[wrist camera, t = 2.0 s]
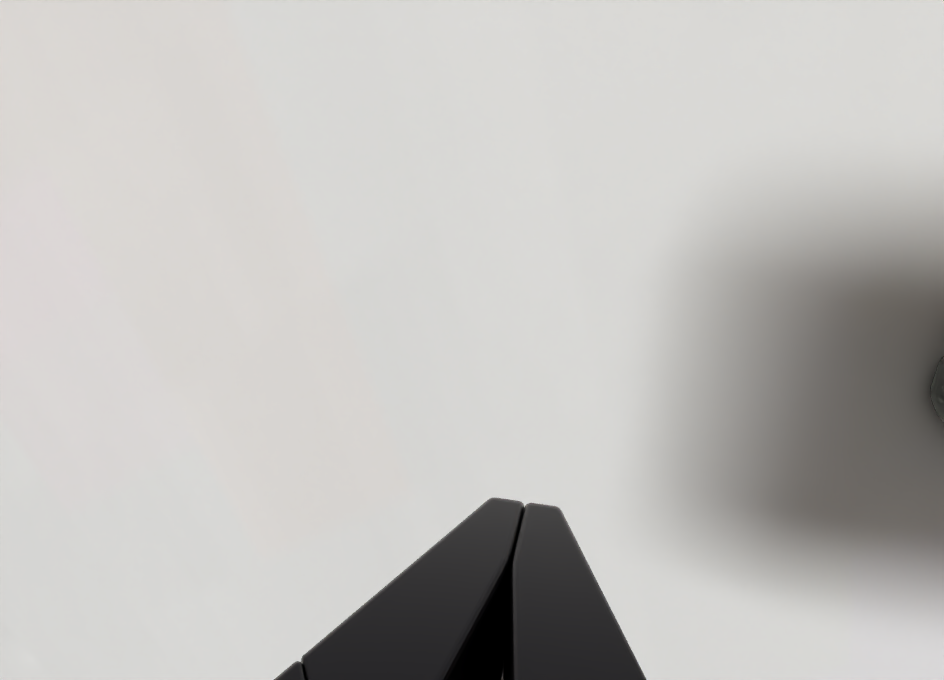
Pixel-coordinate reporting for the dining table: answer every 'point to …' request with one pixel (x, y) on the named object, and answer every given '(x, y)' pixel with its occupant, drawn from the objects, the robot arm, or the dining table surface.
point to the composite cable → (938, 390)
